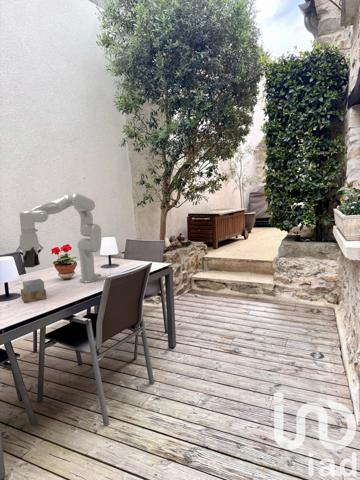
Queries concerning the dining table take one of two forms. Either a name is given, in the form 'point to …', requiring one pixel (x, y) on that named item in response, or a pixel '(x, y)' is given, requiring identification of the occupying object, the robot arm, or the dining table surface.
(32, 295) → the base block
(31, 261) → the phone stand
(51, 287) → the dining table surface
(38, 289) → the top block
